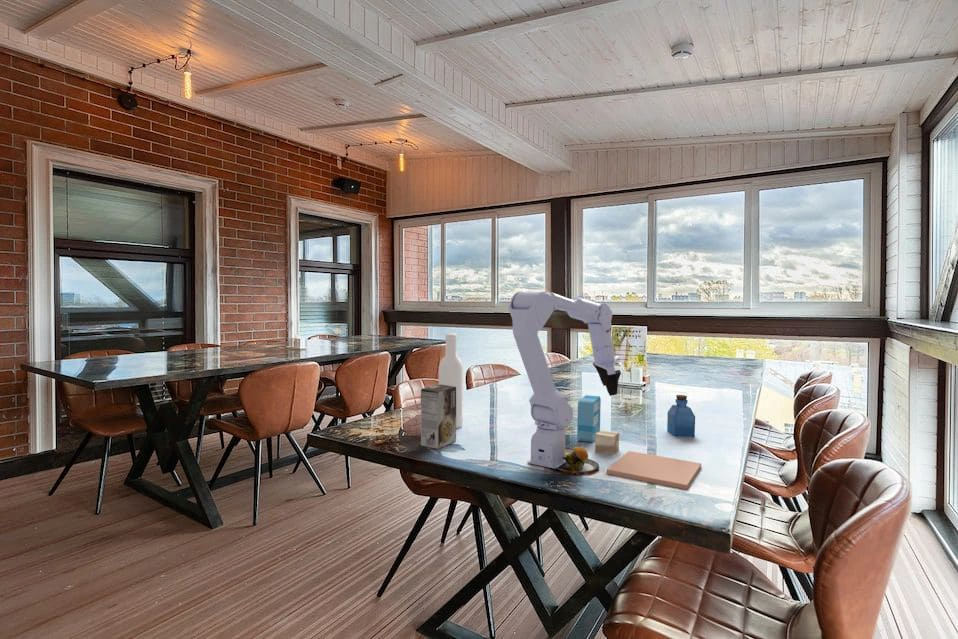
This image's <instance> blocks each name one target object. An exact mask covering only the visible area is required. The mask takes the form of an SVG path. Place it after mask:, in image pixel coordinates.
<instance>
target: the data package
mask: <svg viewBox="0 0 958 639" xmlns="http://www.w3.org/2000/svg"><path fill="white" fill-rule="evenodd" d="M576 422H577V425H576V426H577V428H576V430H577V431H576V433H577V434H576V439H577V441H579V442H588V443H595V434H596V433H598V432H599V431H601V396H598V395H587V394H585V395H584V396H583V397H582V398H580V399H579V400H578V403H577V420H576Z"/></svg>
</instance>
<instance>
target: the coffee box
mask: <svg viewBox="0 0 958 639" xmlns="http://www.w3.org/2000/svg"><path fill="white" fill-rule="evenodd" d="M420 395H421V396H420V410H421V411H420V422H421V423H420V446H422V447H428V448H432V449H437V450H440V449H441V448H444V447H445V446H448V445H450V444H453V443H454V442H457V429H456V387H454V386H448V385H439V384H436V385H432V386H427V387H424V388H420Z"/></svg>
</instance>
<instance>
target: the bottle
mask: <svg viewBox="0 0 958 639" xmlns="http://www.w3.org/2000/svg"><path fill="white" fill-rule="evenodd" d="M457 336H458V334H457V333H446V334H445V339H444V340H445V356H443V357H442V358H441V359H440V360H439V365H438V385H448V386H454V387H456V430H457V429H460V428H462V427H463V422H464V417H463V416H464V415H463V411H464V410H463V409H464V408H463V407H464V404H463V402H464V401H463V400H464V397H463V396H464V393H463V392H464V365H463V362H462V359H461V358H460V357H459V356H458V355H457V354H458V353H457V351H458V350H457V349H458V337H457Z"/></svg>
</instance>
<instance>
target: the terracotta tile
mask: <svg viewBox="0 0 958 639" xmlns="http://www.w3.org/2000/svg"><path fill="white" fill-rule="evenodd" d="M701 468H702V462H701V463H699V462H695V461H688V460H684V459H677V458H674V457H673V458H672V457H665V456H662V455H661V456H660V455H654V454H650V453H643V452H639V451H638V452H636V451H631V450H628V451H627V452H626V453H625V454H623V455H622V456H621V457H620V458H618V459H617V460H616V461H615V462H614V463H612V464H611V465H610V466H609V467H608V468H606V475H607V474H609V475H612V476H613V475H614V476H618V477H621V478H622V477H624V478H628V479H633V480H637V481H638V480H639V481H643V482H648V483H652V484H656V485H663V486H668V487H673V488H678V489H681V490H682V489H683V490H688V489H689V487H690V486H691V484H692V482H693V481H694V479H695V478H696V477H697V474H698V473H699V472H700V470H701Z"/></svg>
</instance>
